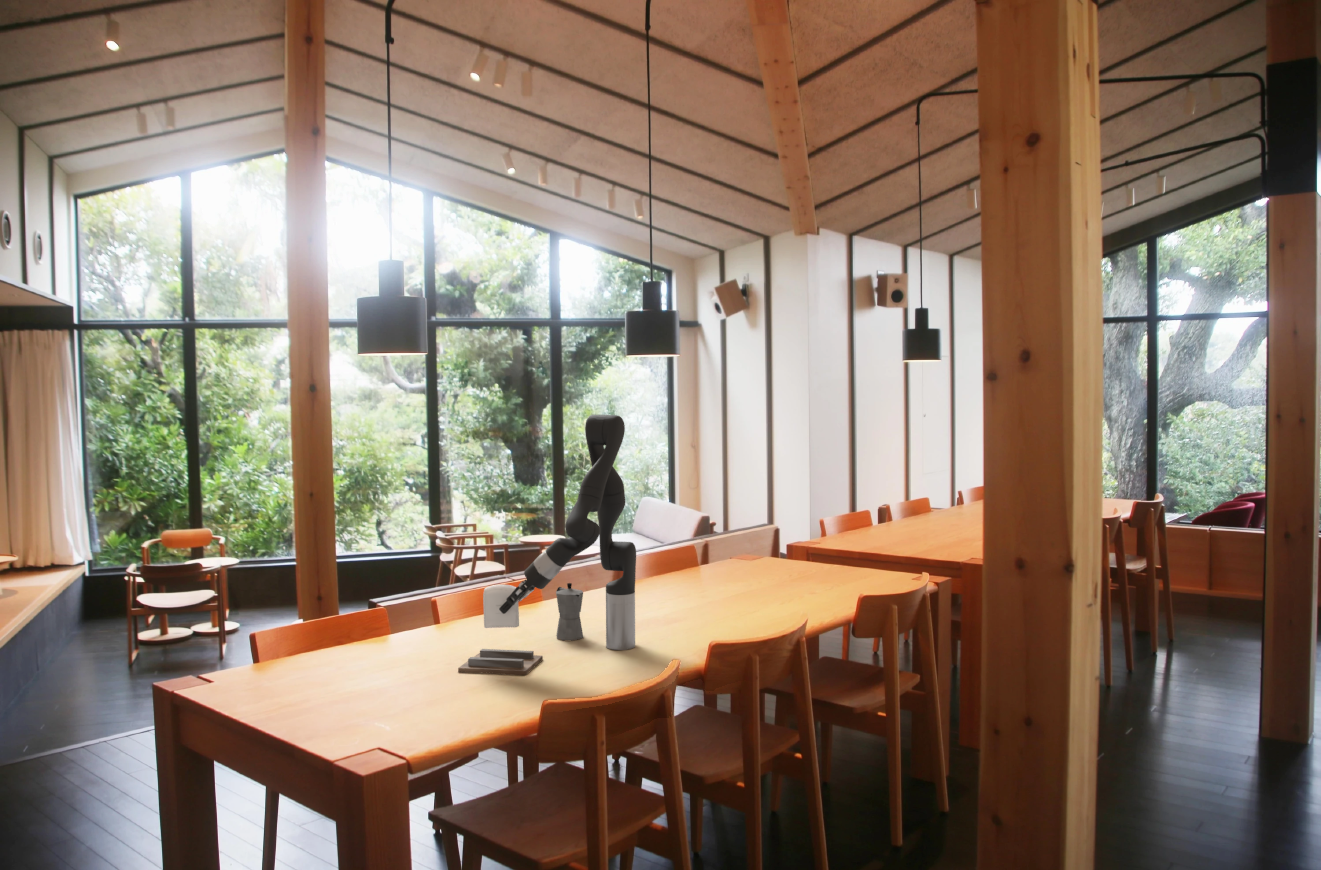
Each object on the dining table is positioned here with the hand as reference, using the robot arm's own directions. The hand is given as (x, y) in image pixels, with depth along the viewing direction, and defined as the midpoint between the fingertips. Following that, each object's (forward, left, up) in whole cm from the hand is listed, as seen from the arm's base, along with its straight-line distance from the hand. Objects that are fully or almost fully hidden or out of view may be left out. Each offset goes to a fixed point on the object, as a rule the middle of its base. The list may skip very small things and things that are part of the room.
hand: (504, 609), depth 252 cm
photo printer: (0, -1, -5) cm, 5 cm away
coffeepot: (-36, +9, -17) cm, 41 cm away
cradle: (0, -1, -17) cm, 17 cm away
